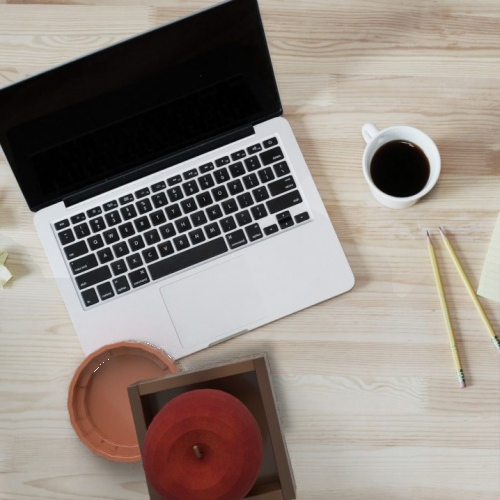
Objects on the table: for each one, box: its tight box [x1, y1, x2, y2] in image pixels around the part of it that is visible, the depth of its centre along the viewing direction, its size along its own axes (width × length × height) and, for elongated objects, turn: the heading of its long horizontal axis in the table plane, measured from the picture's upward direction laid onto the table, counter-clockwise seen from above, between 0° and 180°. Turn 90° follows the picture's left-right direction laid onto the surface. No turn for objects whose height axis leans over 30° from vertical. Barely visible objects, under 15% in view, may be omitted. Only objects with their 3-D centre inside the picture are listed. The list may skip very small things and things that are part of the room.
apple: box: [141, 389, 263, 500], centre depth 58 cm, size 10×10×10 cm
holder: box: [127, 353, 297, 500], centre depth 61 cm, size 12×12×4 cm
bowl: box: [66, 340, 182, 464], centre depth 87 cm, size 14×14×3 cm
